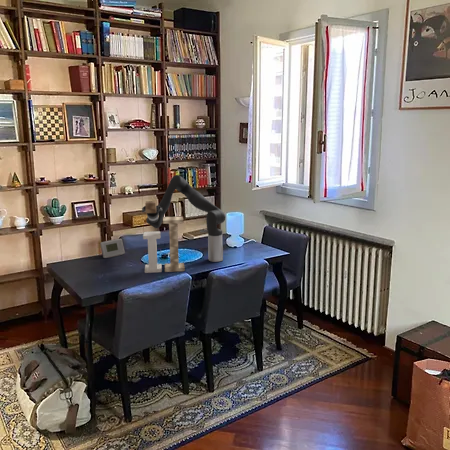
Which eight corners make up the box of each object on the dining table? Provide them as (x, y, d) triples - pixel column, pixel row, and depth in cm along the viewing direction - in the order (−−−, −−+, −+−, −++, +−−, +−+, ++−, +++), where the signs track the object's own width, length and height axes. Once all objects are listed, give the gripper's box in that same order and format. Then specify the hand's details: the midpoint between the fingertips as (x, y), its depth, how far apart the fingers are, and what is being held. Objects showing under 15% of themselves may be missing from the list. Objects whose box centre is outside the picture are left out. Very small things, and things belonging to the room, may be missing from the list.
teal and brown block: (156, 206, 296) (156, 197, 295) (155, 213, 277) (155, 203, 275) (147, 207, 295) (146, 197, 294) (145, 213, 276) (145, 203, 274)
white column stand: (161, 266, 290) (160, 231, 285) (161, 272, 280) (160, 235, 275) (145, 267, 289) (143, 231, 284) (144, 272, 279) (143, 235, 274)
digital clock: (103, 259, 307) (102, 243, 304) (99, 255, 314) (98, 240, 312) (126, 255, 315) (125, 240, 312) (122, 252, 322) (121, 237, 320)
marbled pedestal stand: (184, 266, 292) (182, 216, 284) (184, 271, 282) (183, 219, 275) (164, 266, 290) (163, 217, 283) (164, 271, 281) (163, 220, 273)
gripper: (141, 208, 303) (139, 199, 287) (163, 208, 305) (162, 198, 288) (142, 219, 301) (140, 211, 285) (163, 218, 303) (162, 210, 286)
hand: (151, 205), depth 287 cm, fingers closed on teal and brown block, 2 cm apart
